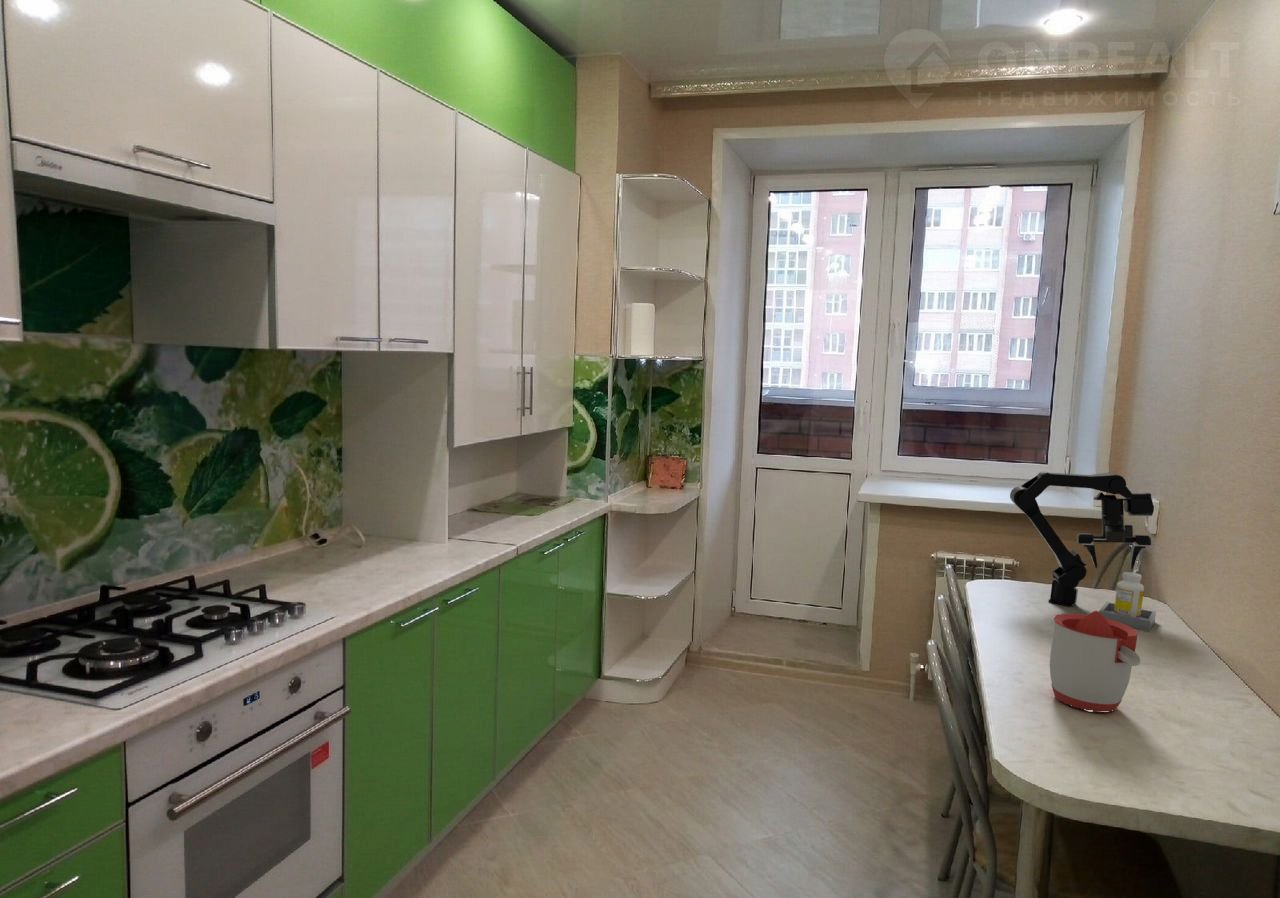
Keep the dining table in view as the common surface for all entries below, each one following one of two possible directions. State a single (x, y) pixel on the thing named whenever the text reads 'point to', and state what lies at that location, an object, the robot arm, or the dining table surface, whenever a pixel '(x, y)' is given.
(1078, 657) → the citrus juicer
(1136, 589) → the supplement bottle
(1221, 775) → the dining table surface
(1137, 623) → the tray
